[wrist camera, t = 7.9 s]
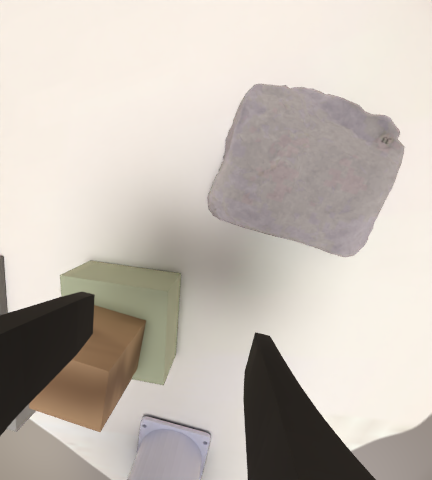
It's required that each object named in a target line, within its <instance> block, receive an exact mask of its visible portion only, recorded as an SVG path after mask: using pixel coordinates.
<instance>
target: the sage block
mask: <svg viewBox="0 0 432 480" xmlns="http://www.w3.org/2000/svg"><path fill="white" fill-rule="evenodd" d="M180 281H181V273H175V272H168V271H160V270H153V269H146V268H139V267H132V266H125V265H118V264H111V263H104V262H97V261H89V262H86V263H84V264H82V265H80V266H78V267H76V268H74V269H72V270H70V271H68V272H66V273H64V274H62V275H60V283H61V295H62V297H63V296H66V295H70V294H73V293H77V292H86V293H91V294H95V298H94V305H96V306H99V307H103V308H106V309H109V310H113V311H116V312H119V313H123V314H126V315H129V316H133V317H136V318H139V319H143V320H146V324H145V330H144V335H143V340H142V346H141V351H140V357H139V362H138V367H137V370H136V372H135V374H134V375H133V377H132V379H133V380H139V381H144V382H149V383H155V384H160V385H164V383H165V381H166V378H167V375H168V373H169V370H170V368H171V365H172V363H173V360H174V358H175V355H176V345H177V329H178V313H179V297H180Z"/></svg>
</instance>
